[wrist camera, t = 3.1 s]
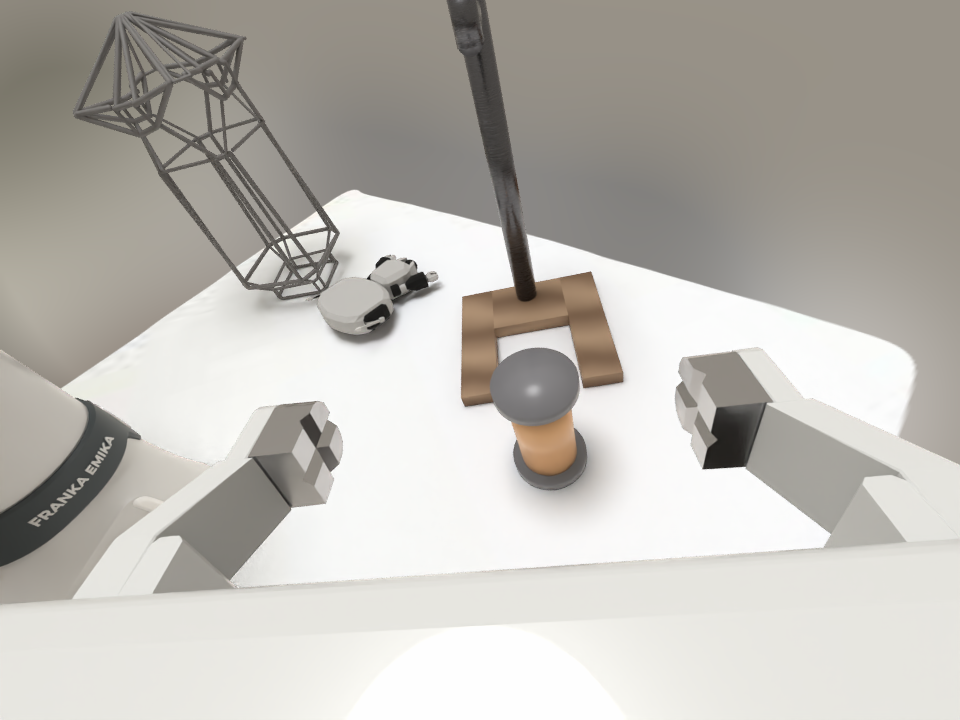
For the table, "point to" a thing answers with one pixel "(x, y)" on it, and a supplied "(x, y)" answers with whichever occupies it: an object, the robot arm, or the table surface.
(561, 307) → the notched board
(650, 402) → the table surface
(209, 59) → the geometric lantern
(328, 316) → the robot toy
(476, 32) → the hook stand
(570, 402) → the cord spool
